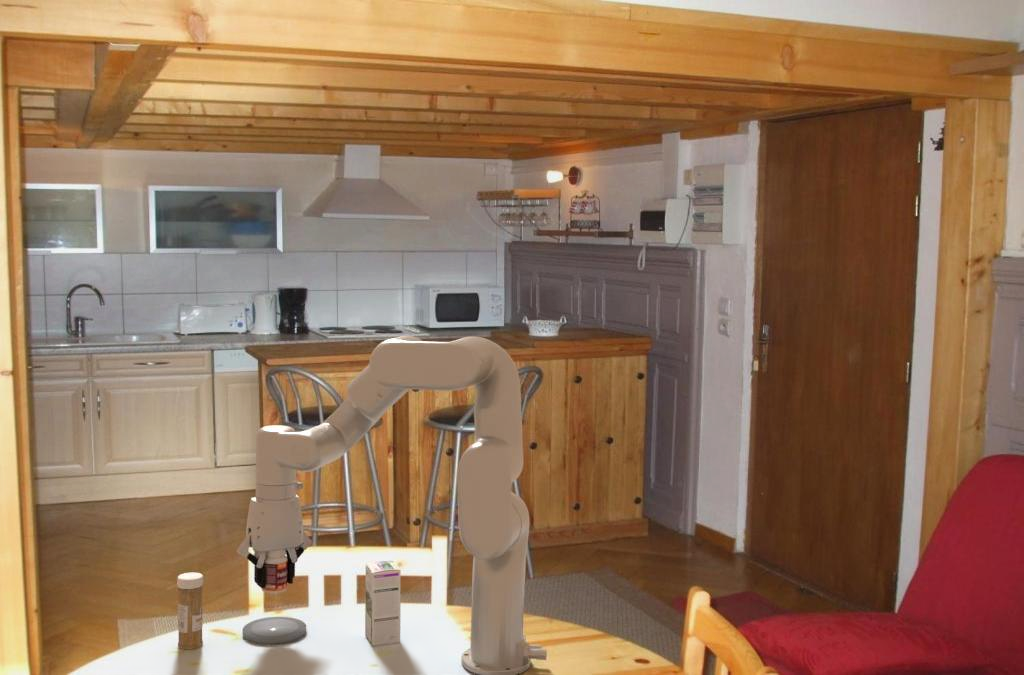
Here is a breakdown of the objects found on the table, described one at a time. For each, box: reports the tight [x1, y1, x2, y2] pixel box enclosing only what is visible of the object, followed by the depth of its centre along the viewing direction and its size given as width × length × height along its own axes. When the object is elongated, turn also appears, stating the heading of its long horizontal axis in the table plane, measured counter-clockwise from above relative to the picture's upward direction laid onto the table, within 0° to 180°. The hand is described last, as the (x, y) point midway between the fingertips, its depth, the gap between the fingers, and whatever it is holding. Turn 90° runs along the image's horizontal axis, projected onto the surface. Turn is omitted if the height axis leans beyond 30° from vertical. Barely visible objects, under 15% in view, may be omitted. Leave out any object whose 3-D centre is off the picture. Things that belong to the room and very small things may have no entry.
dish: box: [242, 616, 307, 646], centre depth 199 cm, size 12×12×1 cm
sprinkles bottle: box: [176, 571, 204, 651], centre depth 191 cm, size 5×5×14 cm
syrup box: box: [364, 560, 401, 647], centre depth 197 cm, size 6×6×14 cm
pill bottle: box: [261, 549, 288, 595], centre depth 198 cm, size 5×5×8 cm
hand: (274, 582), depth 198 cm, fingers closed on pill bottle, 4 cm apart
